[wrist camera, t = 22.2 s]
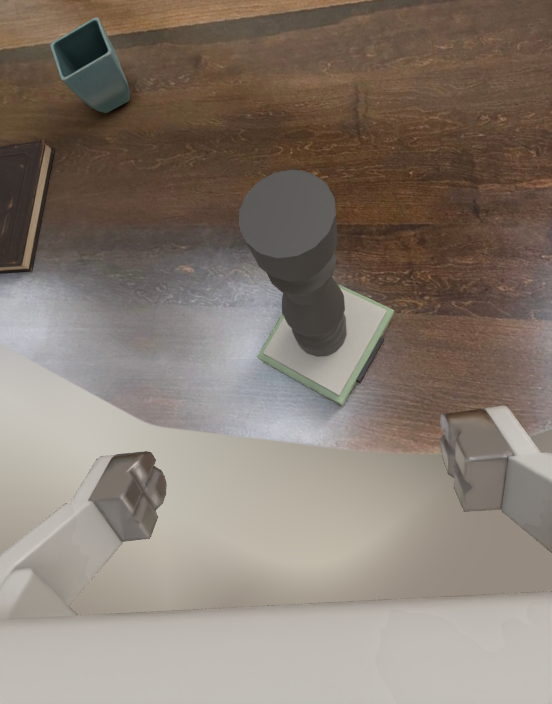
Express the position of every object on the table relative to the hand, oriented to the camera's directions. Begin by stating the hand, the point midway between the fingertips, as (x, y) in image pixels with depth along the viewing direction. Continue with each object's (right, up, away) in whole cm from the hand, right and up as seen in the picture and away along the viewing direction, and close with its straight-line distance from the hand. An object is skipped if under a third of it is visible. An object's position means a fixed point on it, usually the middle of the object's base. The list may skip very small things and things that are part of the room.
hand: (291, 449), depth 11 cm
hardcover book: (-47, +27, +55) cm, 78 cm away
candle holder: (+5, +5, +35) cm, 36 cm away
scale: (+6, +4, +39) cm, 40 cm away
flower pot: (-29, +47, +56) cm, 79 cm away
